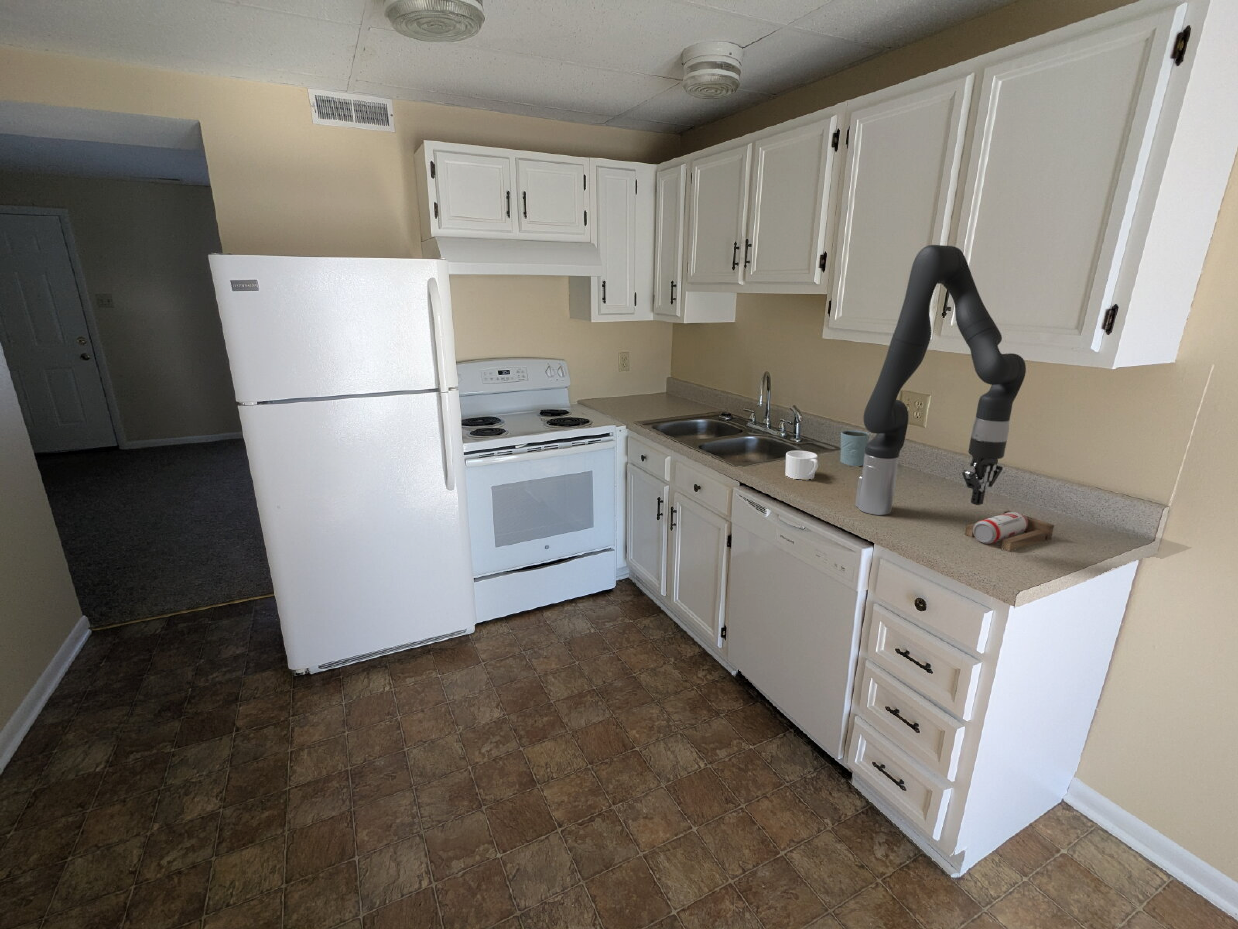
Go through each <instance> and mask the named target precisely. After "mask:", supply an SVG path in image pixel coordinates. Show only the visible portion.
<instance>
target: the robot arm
mask: <svg viewBox="0 0 1238 929" xmlns="http://www.w3.org/2000/svg"><path fill="white" fill-rule="evenodd" d="M912 262H913V263H912V266H911V269H910V270H911V271H910V274H909V276H908V278H909V279H908V282H907V286H906V287H907V288H906V291H905V296H904V300H903V303H902V307H901V309H900V313H899V316H898V320H897V323H896V327H895V329H894V332H893V334H892V336H891V339H890V343H889V346H888V349H887V351H886V352H887V353H886V357H885V360H884V362H883V364H882V368H881V370H880V374H879V376H878V379H877V380H876V383H875V387H874V388H873V391H872V393H871V395H870V398H869V399H868V401H867V404H866V406H865V408H864V413H863V417H862V418H863V425H864V428H865V429H866V430H867V432H868V433H869V432H870V433H872V434H875V436H874V437H873V438H872V439H871V440H869V441H868V443H867V444H866V448H865V455H864V464H863V466H862V474H861V475H860V476H859V477H858V483H857V489H856V497H855V507H856V508H858V510H860V511H861V512H863V513H866V514H871V515H877V516H883V515H885V516H886V515H890V514H891V513H892V507H893V500H894V494H895V487H896V480H897V474H898V468H899V467H898V465H899V458H900V453H901V451H902V449H903V447H904V444H905V440H906V436H907V435H906V434H907V432H908V431H907V430H908V426H909V419H910V418H909V409H908V408H907V405H906V404H905V403H904V402H903V401H901V400H899V399H897V398H898V396H899V393H900V392H901V390H902V389H903V387H904V385H905V384H906V382H907V381H908V380H909V379H910V378H911V377H912V376H913V374H914V373H915V372H916V371H917V370H918V369H919V367H920V365H922V363H923V360H924V358H925V356H926V353H927V350H928V349H929V348H928V347H929V345H930V342H931V338H932V324H931V316H930V306H931V301H932V297H933V296H934V291H935V289H936V287H937V284H938V285H939V284H940V285H942V286H943V287H944V288H945V289H946V290H947V292H948V293H949V295H950V296H951V298H952V300H953V304H954V310H955V311H954V312H955V321H956V325H957V328H958V330H959V332H960V334H961V336H962V338H963V339H964V342H965V343H966V345H967V347H968V348H969V350H970V356H971V360H972V364H973V367H974V371H975V373H976V375H977V377H978V378H979V379H980V380H981V381H982V382H983V383H984V384H987V385H990V388H989V390H988V391H987V392H985V393H984V394H982V395H980V397H979V399H978V402H977V408H976V414H975V418H974V420H973V421H974V422H973V425H972V430H971V434H970V439H969V440H970V441H969V445H968V451H967V452H968V454H969V455H970V456H971V457H972V458H971V461H970V463H969V468H968V469H967V470H965V469H964V470H963V471H962V472H961V473H962V477H963V479H964V481H965V485H966V487H967V488H969V489H971V490H972V494H971V499H970V502H971V504H972V505H976V506H980V505H983V504H984V501H985V494H986V491H987V490H988V489H989V488H992V487H993V485H994V484H995V482H996V481H997V479H998V478H999V476H1000V474H1001V473H1002V471H1003V468H1004V467H1003V466H1002V465H999V464H998V463H999V460H1000V459H1003V458H1004V457H1005V452H1006V447H1007V442H1008V441H1007V440H1008V437H1009V430H1010V420H1011V415H1012V409H1013V404H1014V401H1015V399H1016V398H1017V396H1018V393H1019V392H1020V389H1021V388H1022V386H1023V383H1024V380H1025V377H1026V372H1027V367H1026V366H1027V365H1026V361H1025V359H1024V357H1022V356H1020V354H1017V353H1011V352H1010V353H1002V352H1001V351H1000V348H999V344H1001V342H1002V339H1003V337H1002V333H1001V331H1000V329H999V328H998V326H997V324H996V322H995V321H994V319H993V318H992V316H991V314H990V313H989V311H988V310H987V308H986V306H985V304H984V302H983V300H982V297H981V296H980V293H979V291H978V288H977V285H976V283H975V279H974V278H973V275H972V272H971V270H970V267H969V263H968V261H967V259H966V257H965V254H964V253H963V251H962V250H961V249H960V248H958V247H957V246H953V245H942V244H940V245H939V244H931V245H926V246H924V247H923V248H921V250H919V251H918V252H917V254H916V256H915V258H914V260H913V261H912Z"/></svg>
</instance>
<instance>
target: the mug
mask: <svg viewBox="0 0 1238 929" xmlns="http://www.w3.org/2000/svg"><path fill="white" fill-rule="evenodd" d="M818 468H819V461H818V455H817V453H815V452H811V451H806V450H790V451H787V452H786V453H785V471H784V472H785V473H784V475H785V477H786V476H788V477H790V478H793V479H792V480H794V479H811V480H813V479H815V476H816V475H815V474H816V471H817V470H818ZM788 477H787V478H788ZM790 478H789V479H790ZM812 478H813V479H812Z"/></svg>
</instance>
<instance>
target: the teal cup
mask: <svg viewBox="0 0 1238 929" xmlns="http://www.w3.org/2000/svg"><path fill="white" fill-rule="evenodd" d="M870 436H871V435H870V433H869V432H866V431H861V430H842V431H841V432H840V462H842V463H844V464H847V465H851V466H862V465H863V464H864V455H865V448H866V444H867V443H868V442H870ZM862 467H863V466H862Z"/></svg>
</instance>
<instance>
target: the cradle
mask: <svg viewBox="0 0 1238 929" xmlns="http://www.w3.org/2000/svg"><path fill="white" fill-rule="evenodd" d="M1009 512H1013V511H1012V510H1004V511H1003V514H1005V513H1009ZM1023 515H1024V514H1023ZM1024 516H1025V517H1026V518H1027V520H1028V527H1027V528H1026V529H1025V531H1024V532H1023V533H1021V534H1018V535H1015V536H1012V537H1009V538H1006V539H1003V540H1002V543H1001V548H1003V549H1002V550H1004V549H1005V550H1004V551H1007V552H1012V550H1013V551H1016V550H1019V549H1022V548H1025V547H1026V548H1027V547H1029V546H1032V544H1033V545H1036V544H1039V543H1042V542H1045V541H1048V540H1052V537H1053V533H1054V528H1055V525H1054V524H1051V523H1049V522H1045V521H1043V520H1040V519H1038V518H1033V517H1030V516H1028V515H1024ZM975 524H976V523H972V524H968V525H965V530H964V535H965V536H967V535H968V536H967V537H970V538H973V537H974V538H975V536H974V533H973V528H974V525H975ZM1001 548H1000V549H1001ZM1018 548H1019V549H1018ZM1015 549H1016V550H1015Z"/></svg>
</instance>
